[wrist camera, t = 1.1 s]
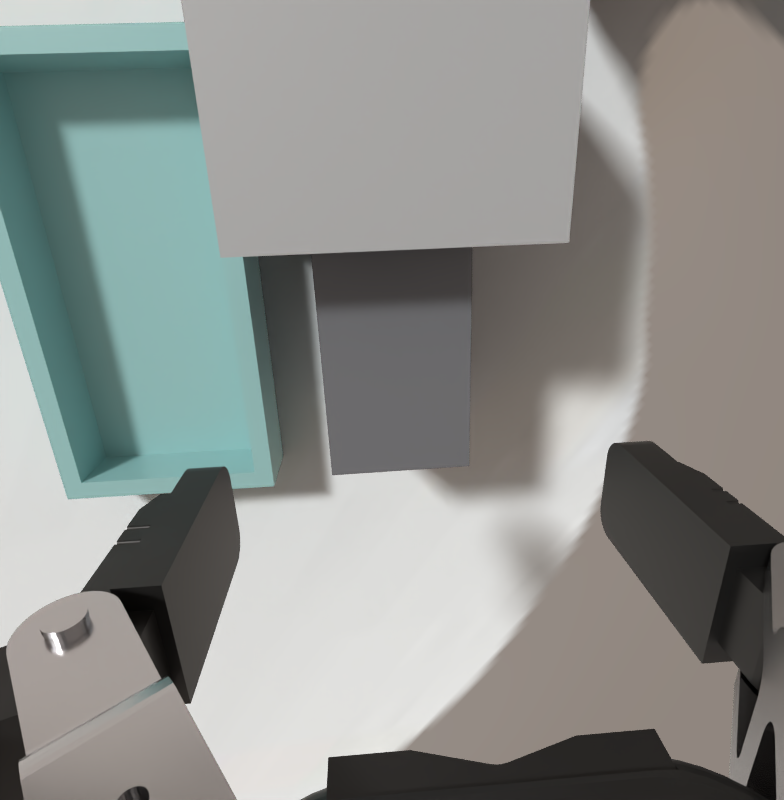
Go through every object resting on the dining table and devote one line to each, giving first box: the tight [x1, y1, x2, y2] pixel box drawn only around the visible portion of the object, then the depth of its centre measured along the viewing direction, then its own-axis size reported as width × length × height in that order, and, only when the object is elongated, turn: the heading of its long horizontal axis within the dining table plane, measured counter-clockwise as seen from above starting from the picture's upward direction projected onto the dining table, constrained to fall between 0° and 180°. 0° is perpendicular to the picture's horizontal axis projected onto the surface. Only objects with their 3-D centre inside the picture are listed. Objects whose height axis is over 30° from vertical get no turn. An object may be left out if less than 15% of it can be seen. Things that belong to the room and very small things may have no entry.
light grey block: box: [181, 0, 590, 258], centre depth 17 cm, size 9×9×10 cm
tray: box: [0, 22, 283, 499], centre depth 22 cm, size 18×9×3 cm, turn 2°
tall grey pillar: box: [311, 247, 472, 475], centre depth 20 cm, size 13×5×8 cm, turn 2°
